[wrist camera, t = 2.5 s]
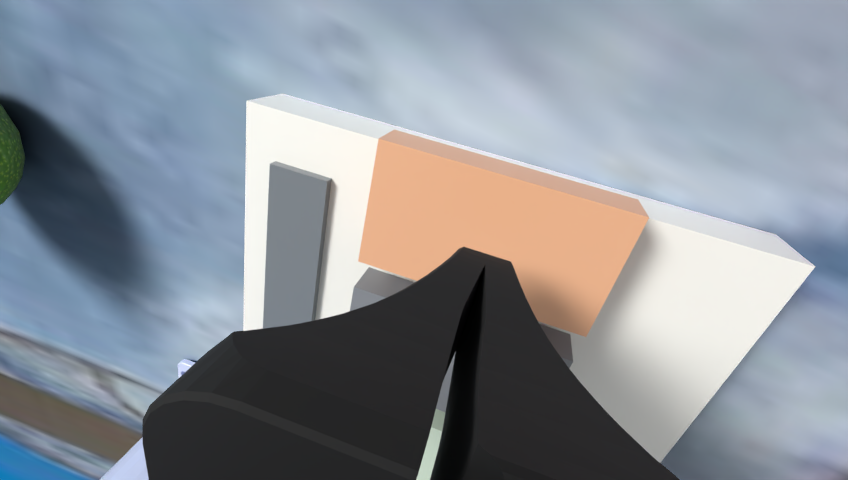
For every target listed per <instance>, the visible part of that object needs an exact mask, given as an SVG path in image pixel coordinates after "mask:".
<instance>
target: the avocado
mask: <svg viewBox="0 0 848 480" xmlns="http://www.w3.org/2000/svg"><path fill="white" fill-rule="evenodd" d="M24 162H25V154H24V150H23V146H22V142H21V138H20V134H19V131H18V129H17V128H16V126H15V125H14V123H13V122H12V120H11V119H10V117H9V116H8V114H7V113H6V111H5V110H4V108H3V106H2V105H0V204H2V203H4V201H5V200H6V199H7V198H8V197H9V196H10V195H11V193H12V192H13V191H14V190H15V189H16V187H17V185H18V183H19V182H20V180H21V178H22V174H23V168H24Z"/></svg>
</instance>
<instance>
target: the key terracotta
mask: <svg viewBox="0 0 848 480" xmlns="http://www.w3.org/2000/svg"><path fill="white" fill-rule="evenodd" d="M648 219H649V216H648V215H647V213H646V211H645V210H644V208H643V207H642V205H641V203H640V202H639V200H638V199H634V198H631V197H628V196H624V195H621V194H617V193H614V192H610V191H607V190H603V189H600V188H596V187H593V186H589V185H586V184H582V183H579V182H575V181H572V180H568V179H565V178H561V177H558V176H554V175H551V174H547V173H544V172H540V171H537V170H534V169H530V168H527V167H523V166H520V165H516V164H513V163H509V162H506V161H502V160H499V159H495V158H492V157H488V156H485V155H481V154H478V153H474V152H471V151H467V150H464V149H460V148H457V147H453V146H450V145H446V144H443V143H440V142H436V141H433V140H429V139H426V138H422V137H419V136H415V135H412V134H408V133H405V132H401V131H398V130H392V131H391V132H389V133H387V134H385V135H384V136H382V137H380V138H379V139H378V145H377V151H376V157H375V163H374V169H373V175H372V181H371V187H370V193H369V199H368V205H367V211H366V217H365V223H364V229H363V235H362V241H361V247H360V253H359V259H358V261H359V262H362V263H365V264H368V265H371V266H374V267H377V268H380V269H383V270H386V271H389V272H392V273H395V274H398V275H401V276H404V277H407V278H410V279H413V280H416V281H418V280H420V279H421V278H423V277H424V276H426V275H427V274H429V273H430V272H432V271H433V270H434V269H436V268H437V267H438V266H440V265H441V264H442V263H444V262H445V261H446V260H447V259H449V258H450V257H451V256H452V255H453V254H454V253H455V252H456V251H457V250H458V249H459V248H461V247H467V248H470V249H473V250H476V251H479V252H482V253H486V254H489V255H492V256H495V257H498V258H501V259H504V260H508V261H511V263H512V265H513V267H514V269H515V272H516V275H517V277H518V280H519V282H520V285H521V287H522V290H523V292H524V294H525V296H526V299H527V301H528V303H529V305H530V307H531V309H532V311H533V313H534V315H535V317H536V319H537V321H539V322H542V323H545V324H548V325H551V326H554V327H557V328H560V329H563V330H566V331H569V332H572V333H575V334H578V335H581V336H584V337H586V336H587V334H588V333H589V331H590V329H591V327H592V325H593V323H594V321H595V319H596V317H597V316H598V314H599V312H600V310H601V308H602V306H603V304H604V302H605V300H606V299H607V297H608V295H609V293H610V291H611V289H612V287H613V285H614V283H615V282H616V280H617V278H618V276H619V274H620V272H621V270H622V268H623V266H624V265H625V263H626V261H627V259H628V257H629V255H630V253H631V251H632V249H633V247H634V246H635V244H636V242H637V240H638V238H639V236H640V234H641V232H642V230H643V229H644V227H645V225H646V223H647V221H648Z"/></svg>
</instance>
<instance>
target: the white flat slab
mask: <svg viewBox="0 0 848 480" xmlns="http://www.w3.org/2000/svg"><path fill="white" fill-rule="evenodd" d="M392 130H398V131H401V132H405V133H408V134H412V135H415V136H419V137H422V138H426V139H429V140H433V141H436V142H440V143H443V144H446V145H450V146H453V147H457V148H460V149H464V150H467V151H471V152H474V153H478V154H481V155H485V156H488V157H492V158H495V159H499V160H502V161H506V162H509V163H513V164H516V165H520V166H523V167H527V168H530V169H534V170H537V171H540V172H544V173H547V174H551V175H554V176H558V177H561V178H565V179H568V180H572V181H575V182H579V183H582V184H586V185H589V186H593V187H596V188H600V189H603V190H607V191H610V192H614V193H617V194H621V195H624V196H628V197H631V198H634V199H638V200H639V202H640V203H641V205H642V207H643V208H644V210H645V211H646V213H647V215H648V216H649V219H648V221H647V223H646V225H645V227H644V229H643V230H642V232H641V234H640V236H639V238H638V240H637V242H636V244H635V246H634V247H633V249H632V251H631V253H630V255H629V257H628V259H627V261H626V263H625V265H624V266H623V268H622V270H621V272H620V274H619V276H618V278H617V280H616V282H615V283H614V285H613V287H612V289H611V291H610V293H609V295H608V297H607V299H606V300H605V302H604V304H603V306H602V308H601V310H600V312H599V314H598V316H597V317H596V319H595V321H594V323H593V325H592V327H591V329H590V331H589V333H588V334H587V336H586V337H584V336H581V335H578V334H575V333H572V332H569V331H566V330H563V329H560V328H557V327H554V326H551V325H548V324H545V323H542V322H539V321H538V323H539V324H541V325H544V326H547V327H550V328H553V329H556V330H559V331H562V332H565V333H568V334H570V335H571V345H572V355H573V363H572V365H571V367H570V370H571V371H572V373H573V374H574V375H575V376H576V378H577V379H578V380H579V381H580V383H581V384H582V385H583V386H584V387H585V388H586V389H587V391H588V392H589V393H590V394H591V395H592V396H593V397H594V399H595V400H596V401H597V402H598V403H599V404H600V405H601V406H602V408H603V409H604V410H605V411H606V412H607V413H608V414H609V415H610V416H611V417H612V418H613V419H614V420H615V421H616V422H617V423H618V424H619V425H620V426H621V427H622V428H623V429H624V430H625V431H626V432H627V433H628V434H629V435H630V436H631V437H632V438H633V439H634V440H636V441H637V442H638V443H639V444H640V445H641V446H642V447H643V448H644V449H645V450H646V451H647V452H648V453H649V454H650V455H651V456H652V457H654V458H655V459H656V460H657V461H658V462H659V463H661V461H662V460H663V459H664V458H665V456H666V455H667V454H668V453H669V451H670V450H671V449H672V447H673V446H674V445H675V444H676V442H677V441H678V440H679V439H680V437H681V436H682V435H683V434H684V432H685V431H686V430H687V428H688V427H689V426H690V425H691V423H692V422H693V421H694V420H695V418H696V417H697V416H698V415H699V413H700V412H701V411H702V409H703V408H704V407H705V406H706V404H707V403H708V402H709V401H710V399H711V398H712V397H713V396H714V394H715V393H716V392H717V390H718V389H719V388H720V387H721V385H722V384H723V383H724V382H725V380H726V379H727V378H728V377H729V375H730V374H731V373H732V371H733V370H734V369H735V368H736V366H737V365H738V364H739V363H740V361H741V360H742V359H743V358H744V356H745V355H746V354H747V352H748V351H749V350H750V349H751V347H752V346H753V345H754V344H755V342H756V341H757V340H758V339H759V337H760V336H761V335H762V333H763V332H764V331H765V330H766V328H767V327H768V326H769V325H770V323H771V322H772V321H773V320H774V318H775V317H776V316H777V314H778V313H779V312H780V311H781V309H782V308H783V307H784V306H785V304H786V303H787V302H788V301H789V299H790V298H791V297H792V295H793V294H794V293H795V292H796V290H797V289H798V288H799V287H800V285H801V284H802V283H803V282H804V280H805V279H806V278H807V276H808V275H809V274H810V273H811V271H812V270H813V269H814V268H815V266H814V265H813V264H811V263H810V262H809V261H808V260H807V259H805V258H804V257H803V256H802V255H800V254H799V253H798V252H797V251H795V250H794V249H793V248H792V247H791V246H789V245H788V244H787V243H786V242H784V241H783V240H782V239H781V238H779V237H778V236H777V235H776V234H772V233H769V232H765V231H762V230H758V229H755V228H751V227H748V226H744V225H741V224H737V223H734V222H730V221H727V220H723V219H720V218H716V217H713V216H709V215H706V214H702V213H699V212H695V211H692V210H688V209H685V208H681V207H678V206H674V205H671V204H667V203H664V202H660V201H657V200H653V199H650V198H646V197H643V196H639V195H636V194H632V193H629V192H625V191H622V190H619V189H615V188H612V187H608V186H605V185H601V184H598V183H594V182H591V181H587V180H584V179H580V178H577V177H573V176H570V175H566V174H563V173H559V172H556V171H552V170H549V169H545V168H542V167H538V166H535V165H531V164H528V163H524V162H521V161H517V160H514V159H510V158H507V157H503V156H500V155H496V154H493V153H489V152H486V151H482V150H479V149H475V148H472V147H468V146H465V145H461V144H458V143H454V142H451V141H447V140H444V139H440V138H437V137H433V136H430V135H426V134H423V133H419V132H416V131H412V130H409V129H405V128H402V127H398V126H395V125H391V124H388V123H384V122H381V121H377V120H374V119H370V118H367V117H363V116H360V115H356V114H353V113H349V112H346V111H342V110H339V109H335V108H332V107H328V106H325V105H321V104H318V103H314V102H311V101H307V100H304V99H300V98H297V97H293V96H290V95H286V94H278V95H273V96H268V97H263V98H258V99H253V100H248V101H247V110H246V183H245V256H244V329H243V331H247V330H255V329H263V328H271V327H279V326H287V325H293V324H299V323H304V322H309V321H314V320H319V319H323V318H327V317H331V316H335V315H339V314H343V313H346V312H349V311H350V307H351V301H352V295H353V289H354V286H355V285H356V283H357V282H358V281H359V279H360V278H361V277H362V275H363V274H364V273H365V272H366V270H367V269H368V268H369V267H370V268H373V269H376V270H379V271H382V272H385V273H388V274H391V275H394V276H397V277H400V278H403V279H406V280H409V281H412V282H416V280H413V279H410V278H407V277H404V276H401V275H398V274H395V273H392V272H389V271H386V270H383V269H380V268H377V267H374V266H371V265H368V264H365V263H362V262H359V261H358V259H359V253H360V247H361V241H362V235H363V229H364V223H365V217H366V211H367V205H368V199H369V193H370V187H371V181H372V175H373V169H374V163H375V157H376V151H377V145H378V139H379V138H380V137H382V136H384V135H385V134H387V133H389V132H391V131H392Z"/></svg>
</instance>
